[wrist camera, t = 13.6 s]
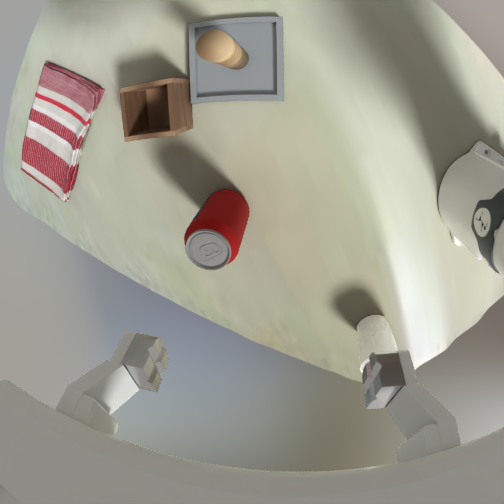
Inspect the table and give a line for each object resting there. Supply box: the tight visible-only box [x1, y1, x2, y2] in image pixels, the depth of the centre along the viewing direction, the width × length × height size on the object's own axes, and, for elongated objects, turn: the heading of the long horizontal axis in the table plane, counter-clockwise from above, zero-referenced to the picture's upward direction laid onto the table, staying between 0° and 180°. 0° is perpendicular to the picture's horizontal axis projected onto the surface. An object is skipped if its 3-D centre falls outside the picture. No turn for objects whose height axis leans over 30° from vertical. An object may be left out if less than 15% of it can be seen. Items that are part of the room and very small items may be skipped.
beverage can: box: [184, 190, 249, 270], centre depth 36 cm, size 7×7×12 cm
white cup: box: [357, 315, 398, 373], centre depth 47 cm, size 8×8×10 cm
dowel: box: [196, 30, 249, 70], centre depth 23 cm, size 3×3×12 cm
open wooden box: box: [120, 78, 193, 142], centre depth 30 cm, size 7×7×7 cm
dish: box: [189, 17, 284, 104], centre depth 28 cm, size 12×12×1 cm
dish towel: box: [21, 63, 105, 202], centre depth 35 cm, size 17×23×3 cm
